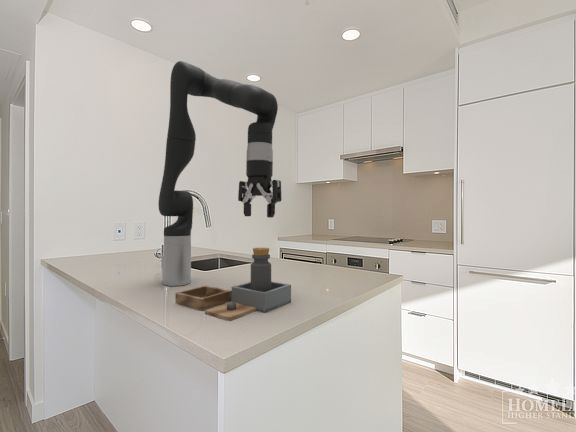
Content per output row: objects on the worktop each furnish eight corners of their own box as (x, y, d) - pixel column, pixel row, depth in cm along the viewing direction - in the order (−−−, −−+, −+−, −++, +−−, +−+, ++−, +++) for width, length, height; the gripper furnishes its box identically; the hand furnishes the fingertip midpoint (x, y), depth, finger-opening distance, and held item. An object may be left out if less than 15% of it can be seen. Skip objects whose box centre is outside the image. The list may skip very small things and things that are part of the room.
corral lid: (204, 313, 81) (204, 305, 81) (232, 304, 89) (232, 297, 89) (229, 320, 76) (229, 312, 76) (257, 310, 84) (257, 302, 84)
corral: (175, 303, 89) (175, 293, 89) (206, 295, 98) (206, 285, 98) (201, 310, 83) (201, 299, 83) (231, 301, 92) (231, 290, 92)
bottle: (268, 304, 87) (268, 249, 87) (247, 303, 88) (248, 249, 88) (273, 298, 93) (273, 247, 92) (254, 297, 94) (254, 247, 94)
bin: (231, 304, 89) (231, 286, 89) (259, 295, 99) (259, 279, 98) (264, 312, 82) (264, 293, 82) (291, 301, 92) (291, 284, 92)
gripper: (232, 160, 92) (231, 216, 92) (271, 156, 84) (270, 218, 84) (249, 163, 98) (249, 215, 99) (287, 160, 90) (286, 217, 90)
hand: (258, 216), depth 91 cm, fingers open, 8 cm apart
